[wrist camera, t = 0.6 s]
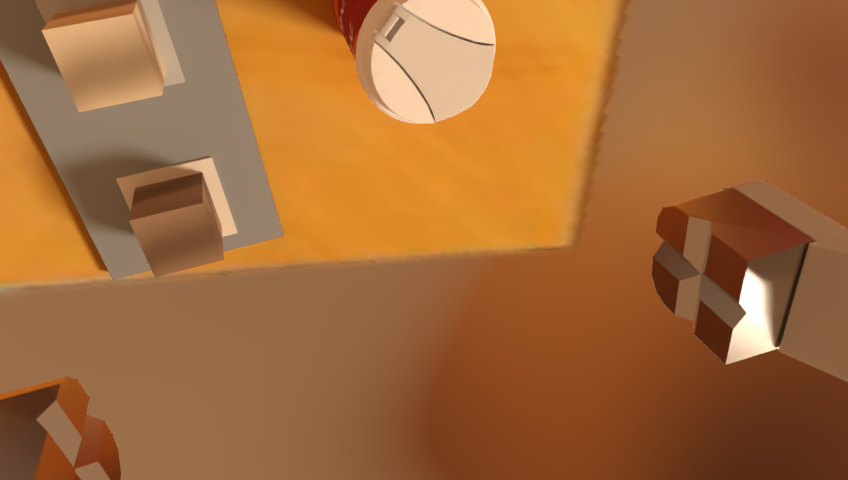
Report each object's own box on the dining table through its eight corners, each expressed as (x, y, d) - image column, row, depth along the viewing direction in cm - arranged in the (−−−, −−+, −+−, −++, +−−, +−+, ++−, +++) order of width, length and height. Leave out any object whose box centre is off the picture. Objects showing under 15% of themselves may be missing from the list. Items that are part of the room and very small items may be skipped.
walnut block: (135, 187, 47) (128, 220, 43) (202, 172, 47) (202, 203, 43) (158, 242, 49) (155, 277, 45) (221, 226, 50) (223, 259, 46)
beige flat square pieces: (-26, -5, 38) (-32, -1, 37) (202, -44, 41) (202, -41, 40) (114, 272, 51) (112, 281, 50) (282, 230, 53) (283, 237, 52)
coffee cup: (295, 15, 45) (330, 80, 33) (362, -85, 42) (426, -55, 30) (384, 80, 49) (444, 158, 37) (448, -8, 47) (534, 44, 35)
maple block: (57, 10, 39) (41, 30, 35) (139, -4, 40) (132, 13, 36) (90, 86, 42) (79, 112, 38) (166, 71, 43) (162, 95, 39)
